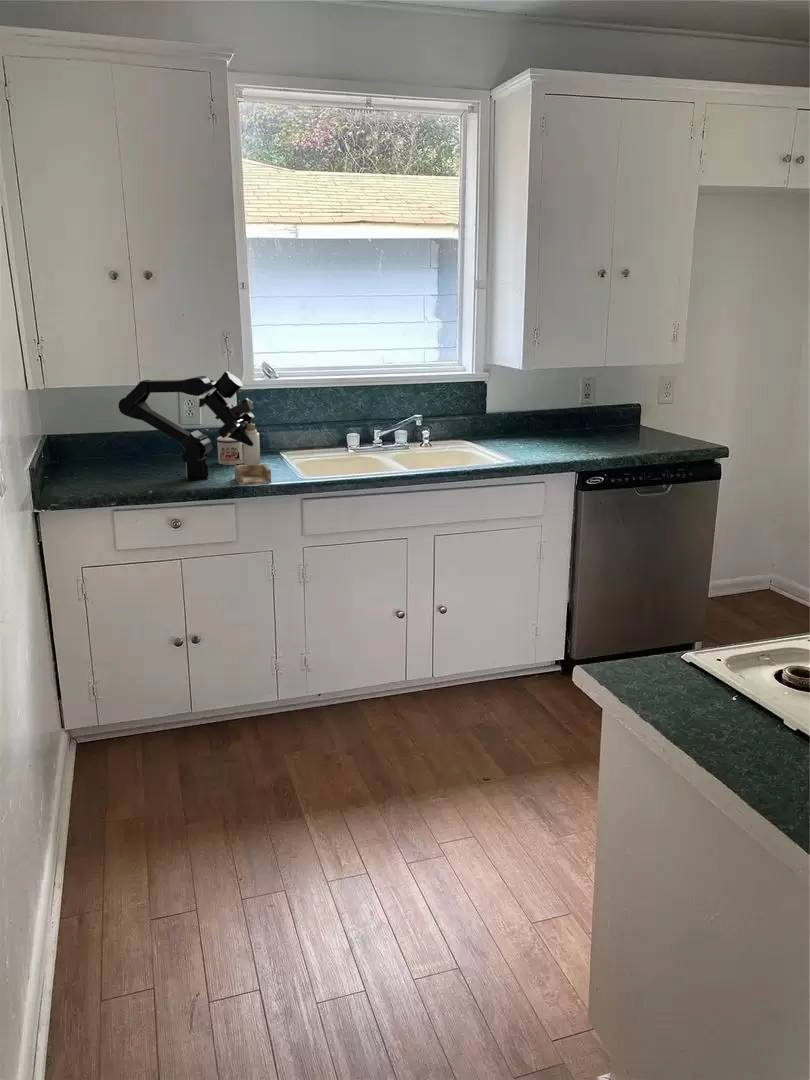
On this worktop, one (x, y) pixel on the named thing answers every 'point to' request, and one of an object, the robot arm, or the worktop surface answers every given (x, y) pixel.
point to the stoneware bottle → (252, 451)
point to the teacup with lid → (229, 451)
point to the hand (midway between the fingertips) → (255, 443)
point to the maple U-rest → (252, 474)
